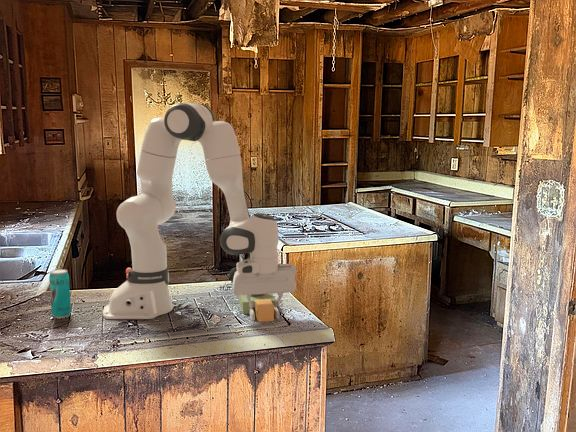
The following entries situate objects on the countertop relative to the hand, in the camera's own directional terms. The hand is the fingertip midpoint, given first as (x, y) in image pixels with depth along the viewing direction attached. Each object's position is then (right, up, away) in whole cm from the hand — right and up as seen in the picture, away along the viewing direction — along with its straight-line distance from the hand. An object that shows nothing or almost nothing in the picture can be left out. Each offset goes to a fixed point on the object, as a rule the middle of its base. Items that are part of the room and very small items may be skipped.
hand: (264, 306), depth 172 cm
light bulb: (-11, 0, +25) cm, 27 cm away
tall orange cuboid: (0, -4, +1) cm, 4 cm away
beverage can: (-65, -3, 0) cm, 65 cm away
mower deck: (-3, -2, +8) cm, 9 cm away
